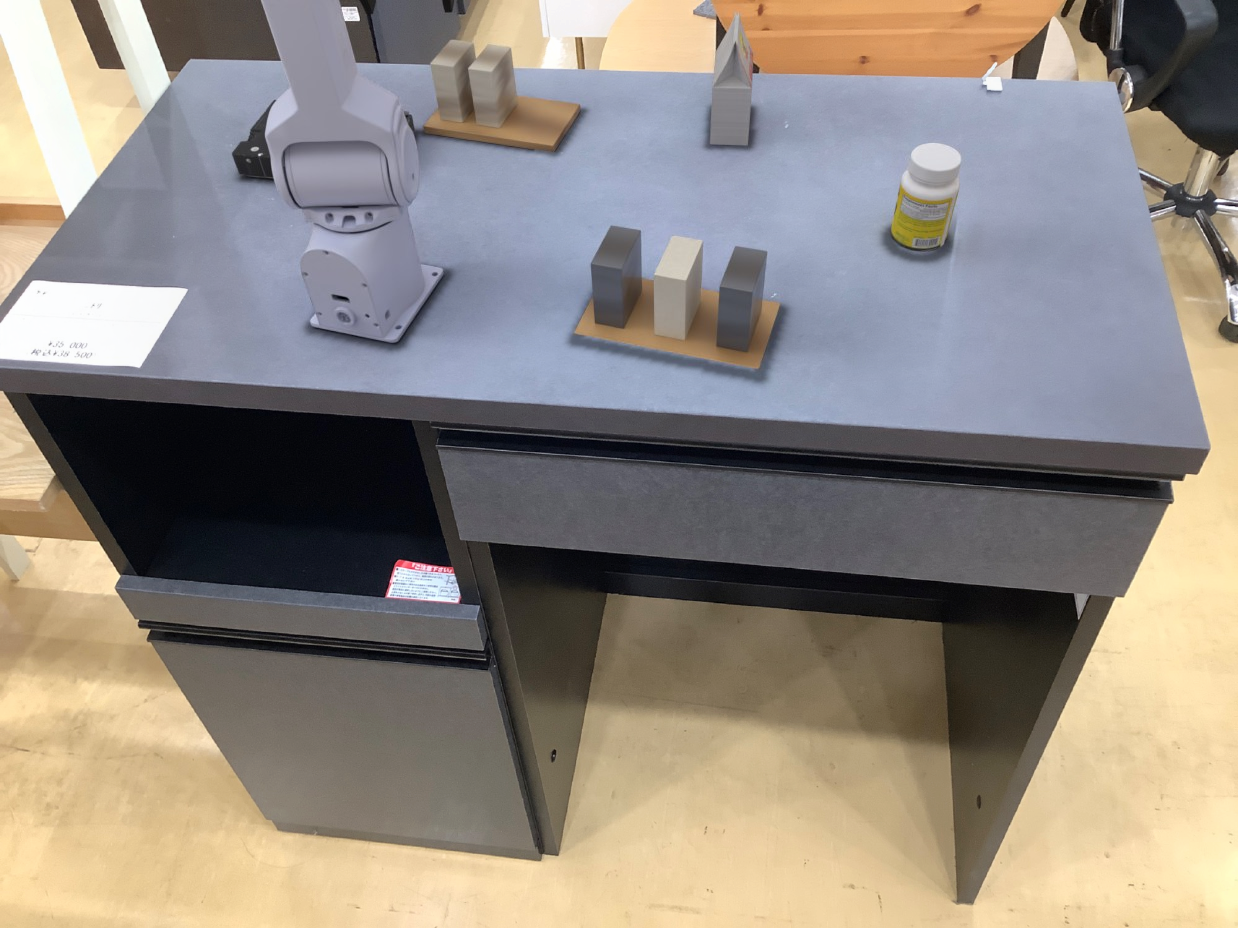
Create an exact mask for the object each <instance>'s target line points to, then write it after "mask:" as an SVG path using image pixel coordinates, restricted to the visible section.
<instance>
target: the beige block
mask: <svg viewBox="0 0 1238 928" xmlns="http://www.w3.org/2000/svg"><path fill="white" fill-rule="evenodd" d="M703 259H704V240H702V239H696V238H691V237H687V236H686V237H685V236H679V235H671V237H670V239H669V241H668V243H667V246H666V248H665V249H664V252H663V254H662V256H661V259H660V261H659V263H658V265H657V267H656V268H655V271H654V274H653V280H654V334H655V335H658V336H664V337H669V338H674V339H679V340H685V339H686V336H687V334H688V331H689V329H690V327H691V324H692V322H693V319H694V317H695V314H696V312H697V309H698V307H699V304H700V302H701V289H703V288H702V286H703V284H702V283H703V262H704V261H703Z"/></svg>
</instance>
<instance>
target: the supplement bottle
mask: <svg viewBox="0 0 1238 928" xmlns="http://www.w3.org/2000/svg"><path fill="white" fill-rule="evenodd" d="M961 164H962V155H961V153H960V152H959V151H958V150H957V149H955V148H954V147H952V146H950V145H948V144H944V143H940V142H927V143H922V144H920V145H918V146H916V147H914V148H913V150H912V151H911V154H910V158H909V160H908V164H907V169H906V170H905V171H904V172H903V174H902V176H901V179H900V183H899V188H898V193H897V198H896V202H895V208H894V212H893V218H892V222H891V228H890V237H891V239H892V240H893V242H895V243H896V244H897V245H898V246H900V247H901V248H904V249H906V250H909V251H913V252H930V251H931V252H932V251H935V250H938V249H941V247H943V245H944V244H946V241H947V239H948V234H949V230H950V226H951V222H952V218H953V215H954V211H955V206H956V203H957V199H958V195H959V191H960V188H961V180H960V178H959V173H960V170H961Z"/></svg>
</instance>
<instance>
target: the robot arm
mask: <svg viewBox="0 0 1238 928" xmlns="http://www.w3.org/2000/svg"><path fill="white" fill-rule="evenodd" d="M260 1H261V5H262V7H263V10H264V13H265V16H266V20H267V23H268V26H269V29H270V32H271V34H272V38H273V39H274V40H273V41H274V44H275V46H276V49H277V53H278V56H279V59H280V61H281V65H282V67H283V71H284V73H285V74H284V75H285V76H286V79H287V80H286V81H287V83H288V86H289V87H288V88H287V89H286V90H285V91H284V92H283V93H282V94H281V95H280V96H278V98H277V99H275V100H276V101H275V103H274V104H273V105H272V107H271V110H270V112H269V115H268V119H267V125H266V130H265V138H266V141H267V145H268V148H269V152H270V156H271V167H272V173H273V178H272V179H273V181H274V185H275V188H276V189H277V193H278V195H279V196H280V198H281V199H282V200H283V201H284V202H285V203H286V205H287V206H288V207H289V208H291V209H292V210H301V211H302V214H303V217H304V220H305V223H312V230H311V236H310V239H309V241H308V244H307V246H306V248H305V250H304V251H303V253H302V256H301V258H300V261H299V268H300V275H301V276H302V279H303V282H304V285H305V287H306V290H307V293H308V297H309V299H310V303H311V306H312V308H313V310H314V311H313V312H314V314H313V315H312V316H311V318H310V319H309V323H310V326H311V327H314V328H319V329H323V330H328V331H333V332H337V333H342V334H346V335H353V336H357V337H362V338H366V339H371V340H377V341H380V342H386V343H392V344H393V343H395V344H396V343H398V342H399V341H400V339H401V338H402V337H403V335H404V334H405V332H406V331H407V329H408V327H409V326H410V325H411V323H412V322H413V320H414V319H415V317H416V316H417V315H418V313H419V312H420V310H421V309H422V307H423V306H424V304H425V303H426V302H427V300H428V298H429V297H430V295H431V293H433V291H434V289H435V288H436V286H437V285H438V283H439V282H440V281H441V279H442V277H443V276H444V269H443V268H442V267H440V266H434V265H430V264H429V265H428V264H424V263H421V261H420V256H419V252H418V247H417V243H416V238H415V234H414V230H413V226H412V222H411V218H410V213H409V209H408V207H410V206H411V205H412V204H413V202H414V200H416V198H417V196H418V194H419V189H420V174H421V173H420V159H419V152H418V146H417V140H416V137H415V134H414V132H413V131H412V129H411V128H410V127H409V125H408V123H407V120H406V117H405V114H404V111H405V110H404V108H403V105H401V103H400V100H399V97H398V96H397V95H396V94H394V93H392V92H391V91H389V90H388V89H386V88H385V87H383V86H381V85H379V84H378V83H376V82H374V81H372V80H371V79H369V78H367V77H366V76H364V75H363V74H361V73H360V72H359V70H358V69H359V68H358V65H357V62H356V58H355V54H354V51H353V47H352V43H351V40H350V39H351V38H350V36H349V31H348V28H347V25H346V21H345V17H344V14H343V9H342V6H341V2H340V0H260ZM359 3H360V4H361V5H362V8H363V10H364V12H365V14H366V15H374V12H375V8H376V4H377V0H359ZM441 3H442V7H443V11H444V14H445V13H446V14H447V13H453V10H454V5H455V0H441ZM403 110H404V111H403Z"/></svg>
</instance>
